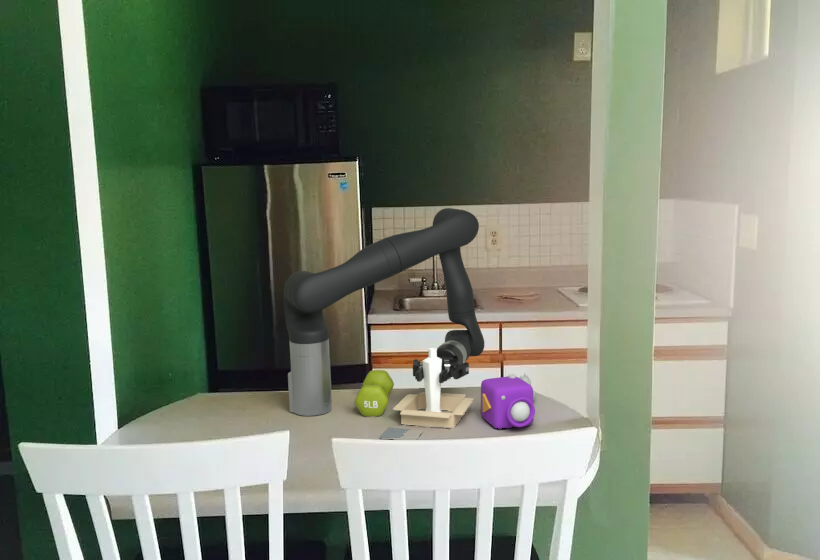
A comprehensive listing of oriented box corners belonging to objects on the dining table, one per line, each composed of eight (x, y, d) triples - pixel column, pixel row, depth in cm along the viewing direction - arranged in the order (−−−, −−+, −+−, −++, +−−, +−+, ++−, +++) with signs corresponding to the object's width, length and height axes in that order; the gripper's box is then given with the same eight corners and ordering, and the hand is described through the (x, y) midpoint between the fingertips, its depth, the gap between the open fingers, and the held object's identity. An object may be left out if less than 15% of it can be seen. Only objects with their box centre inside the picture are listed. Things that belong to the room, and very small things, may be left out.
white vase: (420, 415, 159) (419, 350, 157) (427, 409, 163) (426, 345, 161) (439, 417, 158) (438, 352, 155) (446, 411, 162) (445, 347, 159)
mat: (379, 438, 149) (378, 437, 149) (388, 429, 155) (388, 427, 155) (415, 442, 147) (415, 440, 147) (423, 432, 152) (423, 430, 152)
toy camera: (508, 439, 147) (508, 392, 145) (473, 420, 159) (472, 377, 157) (549, 429, 152) (549, 384, 150) (512, 411, 164) (512, 370, 162)
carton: (389, 427, 156) (389, 412, 155) (411, 404, 171) (411, 390, 170) (460, 433, 151) (460, 417, 150) (476, 409, 166) (476, 395, 165)
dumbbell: (388, 418, 162) (387, 388, 161) (353, 418, 163) (352, 388, 162) (395, 396, 178) (394, 368, 177) (364, 396, 179) (363, 368, 178)
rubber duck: (517, 408, 166) (516, 375, 165) (508, 400, 172) (508, 368, 171) (539, 406, 167) (539, 374, 165) (530, 398, 173) (530, 366, 172)
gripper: (420, 342, 174) (398, 359, 158) (477, 345, 170) (460, 363, 154) (421, 371, 175) (399, 392, 159) (477, 375, 171) (461, 396, 155)
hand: (429, 378), depth 157 cm, fingers closed on white vase, 4 cm apart
